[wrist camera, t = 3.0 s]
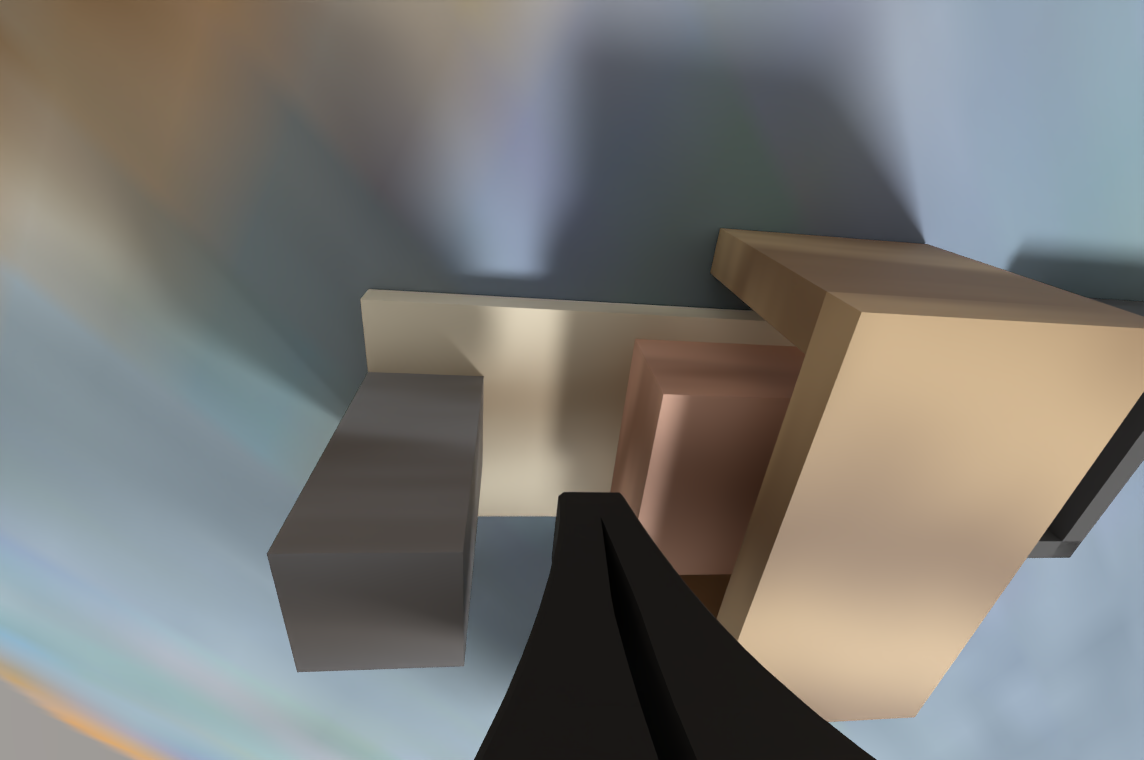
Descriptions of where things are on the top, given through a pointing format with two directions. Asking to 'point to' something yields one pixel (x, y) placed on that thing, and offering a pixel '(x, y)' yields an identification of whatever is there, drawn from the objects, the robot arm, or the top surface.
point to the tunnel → (908, 456)
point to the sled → (519, 455)
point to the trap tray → (1098, 476)
